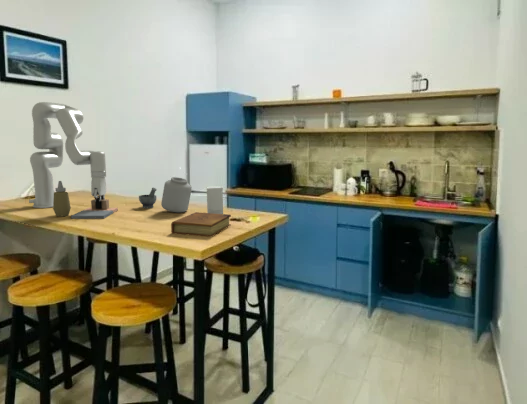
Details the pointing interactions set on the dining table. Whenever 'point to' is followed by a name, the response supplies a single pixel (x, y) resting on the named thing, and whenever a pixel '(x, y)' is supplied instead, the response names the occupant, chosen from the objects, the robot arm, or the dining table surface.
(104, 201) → the stub
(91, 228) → the dining table surface
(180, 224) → the diary
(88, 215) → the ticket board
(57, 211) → the squeeze bottle
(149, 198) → the mortar and pestle
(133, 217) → the dining table surface
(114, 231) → the dining table surface
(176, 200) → the jar
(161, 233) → the dining table surface
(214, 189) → the skincare box
